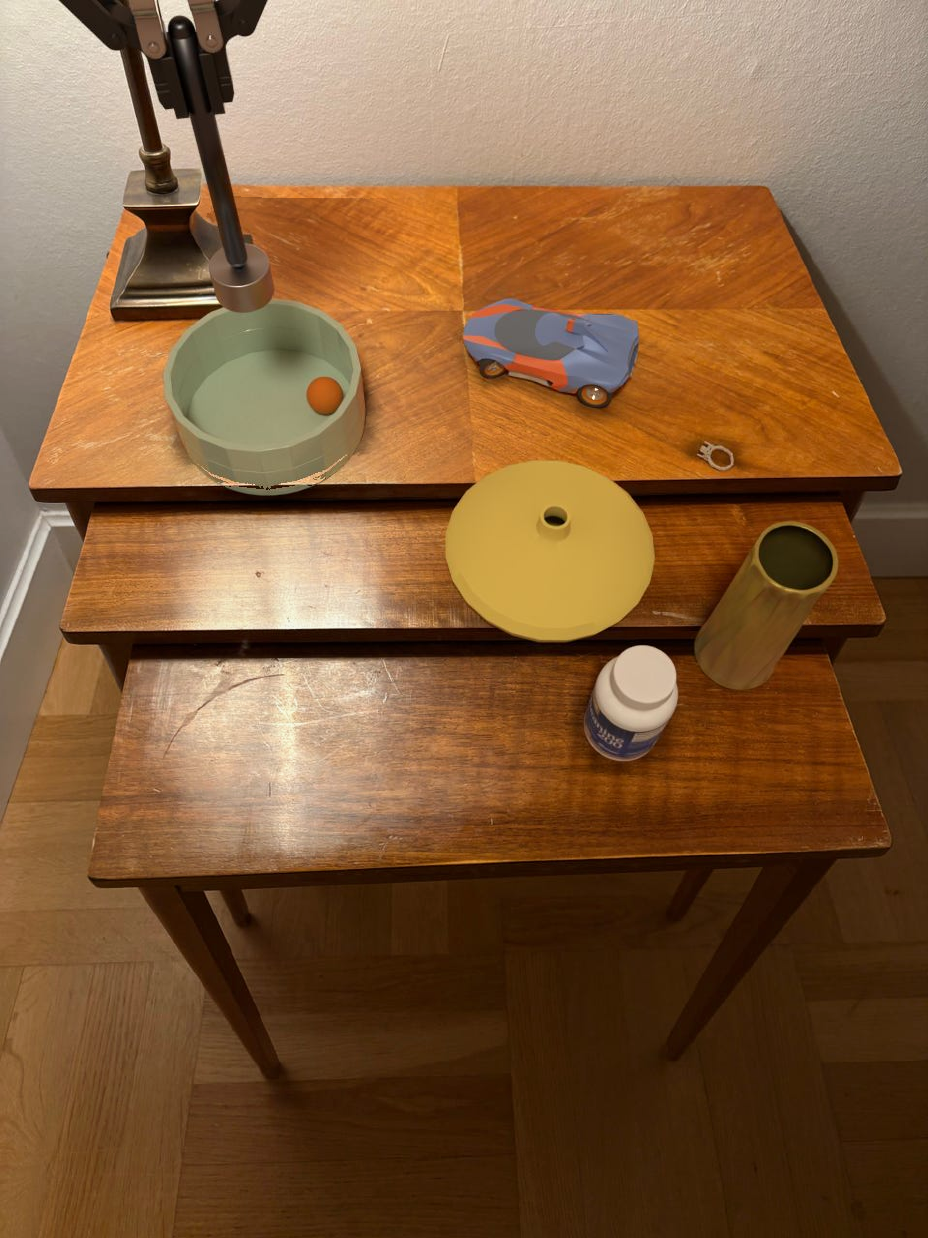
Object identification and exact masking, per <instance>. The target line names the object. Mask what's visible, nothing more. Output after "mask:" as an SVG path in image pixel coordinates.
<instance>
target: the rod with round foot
mask: <svg viewBox="0 0 928 1238" xmlns="http://www.w3.org/2000/svg"><path fill="white" fill-rule="evenodd" d="M167 32H168V34H169V38H170V42H171V46H172V48H173V52H174V56H175V59H176V63H177V67H178V71H179V75H180V79H181V83H182V87H183V91H184V95H185V99H186V103H187V106H188V110H189V119H190V124H191V128H192V131H193V136H194V139H195V143H196V147H197V151H198V155H199V159H200V162H201V167H202V170H203V174H204V177H205V182H206V185H207V190H208V193H209V198H210V201H211V205H212V209H213V213H214V216H215V221H216V225H217V228H218V233H219V237H220V241H221V245H222V247H221V248H219V249H218V250H217V251H215V252H214V254H212V256H211V258H210V259H209V261H208V262H209V263H208V274H209V276H210V277H209V278H210V280H211V284H212V288H213V291H214V294H215V298H216V301H217V302H218V303H219V305H220V306H222V308H223V307H224V308H226V309H227V310H230V311H233V312H237V313H249V312H253V311H256V310H259V309H261V308H263V307H264V306H266V305H267V304H268V303H269V302H270V300H271V299H273V297H274V295H275V284H274V277H273V274H272V268H271V265H270V259H269V257H268V255H267V254H266V253H265V251H264V250H262V248H260V247H259V246H256V245H254V244H252V243H251V244H250V243H245V238H244V233H243V229H242V225H241V221H240V217H239V213H238V208H237V204H236V199H235V196H234V191H233V190H234V189H233V186H232V183H231V178H230V174H229V169H228V164H227V161H226V156H225V152H224V148H223V143H222V139H221V134H220V130H219V126H218V122H217V117H216V115H213V113H212V109H211V105H210V100H209V96H208V92H207V88H206V83H205V79H204V75H203V70H202V66H201V62H200V58H199V52H198V39H197V34H196V27H195V24H194V22H193V21H192V20H191V19H190V18H188V17H187V16H185V15H181V14H179V15H175V16H173V17H172V18H170V20H169V21H168V25H167Z"/></svg>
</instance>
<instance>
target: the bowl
mask: <svg viewBox="0 0 928 1238" xmlns="http://www.w3.org/2000/svg"><path fill="white" fill-rule="evenodd" d="M319 377H330V378H332V379H334V380H336V381H337V382H338V383H339V385H340V386H341V388H342V391H343V401H342V403H341V405H340V406H339V408H338V409H337V410H336V411H334V412H333V413H330V414H321V413H318V412H316V411H315V410H313V409H312V408H311V407H310V405H309V403H308V401H307V396H306V393H307V388H308V386H309V384H310V383H311V382H312V381H313V380H314V379H316V378H319ZM162 380H163V391H164V399H165V402H166V404H167V407H168V410H169V412H170V415H171V418H172V420H173V422H174V426H175V427H176V430H177V432H178V435H179V438H180V440H181V442H182V444H183V446H184V448H185V450H186V452H187V455H188V456H189V458H190V460H191V461H192V462H193V464H194V465H195V466H196V467H197V469H198V470H199V471H200V472H201V473H202V474H204V476H206V477H207V478H209V479H210V480H212V481H213V482H215V483H216V484H218V483H217V482H220V483H223V482H226V481H223V480H221V479H218V478H216V477H213V476H211V475H210V474H209V473H208V472H210V473H211V474H214V475H217V476H219V477H223V478H226V479H229V480H231V481H234V482H239V483H245V484H247V483H248V484H252V485H253V484H255V485H259V487H260V488H261V486H263V488H264V489H256V488H247V487H239V486H235V485H234V486H231V487H229V486H225V487H224V488H226V489H229V490H231V491H235V492H239V493H242V494H247V495H252V496H253V495H254V496H279V495H281V496H282V495H288V494H292V493H297V492H300V491H303V490H306V489H309V488H311V487H313V486H315V485H312V486H308V485H309V484H307V485H295V486H289V487H282V488H276V489H270V488H271V486H274V485H279V484H281V483H287V482H292V481H297V480H300V479H303V478H306V477H308V476H311V475H313V474H315V473H318V472H322V471H323V470H326V469H328V468H329V467H330V466H332V465H333V464H334V463H335V462H337V461H338V460H339V459H341V458H342V457H343V456H345V455H346V454H347V456H345V457H344V458H343V459H342V460H341V461H339V462H338V463H337V464H336V465H335V466H333V467H332V468H331V469H330V470H329V471H327V472H325V473H324V474H322V475H320V476H321V478H320V479H323V478H324V477H325V478H326V479H325V480H327V479H329V478H330V477H331V476H333V475H334V474H335V473H337V472H338V471H339V470H340V469H341V468H343V466H345V464H347V462H348V461H349V460H350V459H351V458H352V456H353V454H354V453H355V452H356V450H357V448H358V446H359V444H360V443H361V440H362V437H363V434H364V429H365V426H366V411H367V410H366V404H365V393H364V385H363V384H364V383H363V376H362V367H361V362H360V358H359V353H358V348H357V345H356V344H355V342H354V341H353V339H352V338H351V336H350V335H349V333H348V332H347V330H346V328H345V327H344V326H343V324H341V323H340V322H338V321H337V320H335V318H333V317H331V316H330V315H328V313H326V312H325V311H323V310H321V309H319V308H316V307H314V306H310V305H308V304H305V303H302V302H299V301H298V300H290V299H281V298H280V299H278V298H272V299H271V300H270V302H269V303H268V304H267V305H266V306H264V307H263V308H261V309H259V310H256V311H253V312H249V313H237V312H233V311H230V310H227V309H226V308H224V307H223V306H222V307H220V308H217V309H216V310H212V311H210V312H209V313H207V314H206V315H204V316H203V317H202V318H200V319H199V320H197V321H196V322H194V323H193V324H191V325H190V326H188V327H187V328H186V329H185V330H184V331H183V333H182V334H181V336H179V338H178V339H177V341H176V342H175V343H174V345H173V346H172V347H171V348H170V351H169V353H168V356H167V360H166V362H165V366H164V369H163V371H162ZM192 459H193V460H192ZM197 463H198V464H199V465H198V464H197ZM201 466H202V467H203V468H204V469H205V470H207V471H208V472H207V471H205V470H204V469H203V468H202V467H201ZM320 476H318V477H315V478H319V477H320ZM329 476H330V477H329ZM313 479H314V478H313ZM314 480H317V479H314ZM226 483H228V482H226ZM267 487H268V488H269V489H270V490H269V489H268V490H266V488H267Z"/></svg>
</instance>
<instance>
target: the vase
mask: <svg viewBox="0 0 928 1238" xmlns="http://www.w3.org/2000/svg"><path fill="white" fill-rule="evenodd" d="M838 571H839V556H838V552H837V550H836V547H835V546H834V544H833V543H832V542H831V540H830V539H829V538H828V537H827V536H826V535H825V534H824V533H823V532H821V531H820V530H818V529H817V528H815V527H814V526H811V525H809V524H807V523H805V522H801V521H800V522H799V521H792V520H789V521H787V520H786V521H781V522H777V523H773V524H771V525H769V526H768V527H766V528H765V529H764V530H762V532H760V534H759V536H758V537H757V540H756V541H755V543H754V544H753V545H752V546H751V549H750V551H748V553H747V555H746V557H745V559H744V561H743V563H742V564H741V566H740V568H739V569H738V571H737V572H736V574H735V575H734V578H733V579H732V580H731V582H730V584H729V586H728V587H727V588H726V590H725V592H724V594H723V595H722V596H721V599H720V601H719V602H718V604H717V605H716V606H715V608H713V611H712V612H711V614H710V616H709V617H708V619H707V621H705V623H703V624H702V626H701V627H700V628H699V630H698V632H697V635H696V637H695V639H694V645H693V647H694V648H693V650H694V651H693V652H694V656H695V660H696V662H697V664H698V667H699V668H700V670H701V671H702V672H703V673H704V675H706V677H707V678H709V679H710V680H711V681H712V682H714V683H715V684H717V685H719V686H720V687H723V688H725V689H730V690H735V691H748V690H752V689H755V688H757V687H760V686H762V685H763V684H765V683H766V682H767V681H768V680H769V679H770V677H771V676H772V674H773V673H774V672H775V670H776V666H777V664H778V662H780V660H781V658H782V657H783V656H784V654H785V653H786V651H787V650H788V648H789V647H790V644H791V643H792V642H793V640H794V639H795V638H796V636H797V634H798V633H799V631H800V630H801V629H802V627H803V625H804V623H805V621H806V619H807V618H808V616H809V615H810V613H811V611H812V609H813V607H814V606H815V604H816V602H817V601H818V599H819V598H820V597H821V596H822V595H823V594H824V593H825V592H826V591H827V590H828V588H829V587H830V586H831V584H832V583H833V581H834V579H835V578H836V575H837V573H838Z"/></svg>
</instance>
